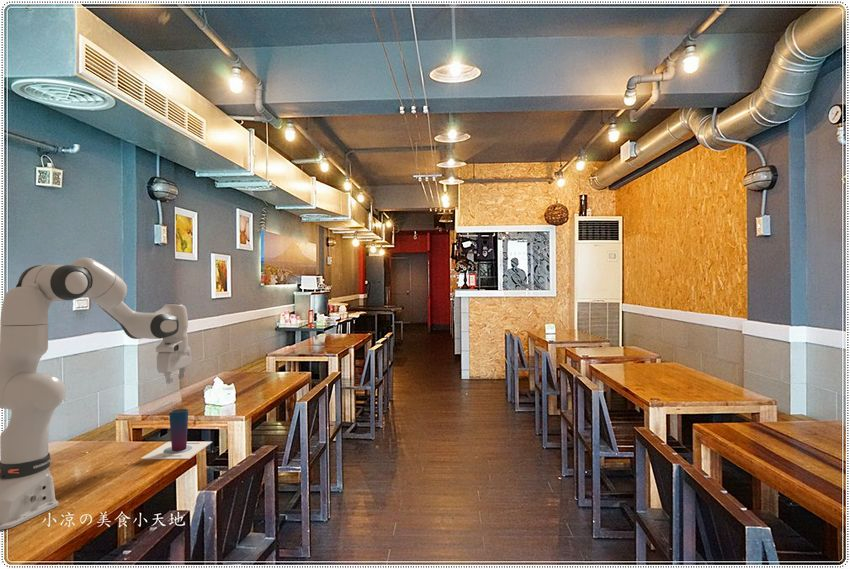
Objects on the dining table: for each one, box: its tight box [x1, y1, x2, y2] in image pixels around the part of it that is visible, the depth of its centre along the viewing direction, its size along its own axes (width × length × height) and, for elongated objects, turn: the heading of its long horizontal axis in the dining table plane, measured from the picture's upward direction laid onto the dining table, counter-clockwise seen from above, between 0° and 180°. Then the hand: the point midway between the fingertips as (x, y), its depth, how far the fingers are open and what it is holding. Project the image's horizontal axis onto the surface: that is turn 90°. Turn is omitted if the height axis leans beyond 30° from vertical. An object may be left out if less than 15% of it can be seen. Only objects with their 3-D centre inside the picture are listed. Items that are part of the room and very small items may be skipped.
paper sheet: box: [140, 441, 213, 460], centre depth 200 cm, size 20×18×1 cm
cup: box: [168, 407, 190, 451], centre depth 200 cm, size 7×7×15 cm
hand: (175, 380), depth 199 cm, fingers open, 8 cm apart
